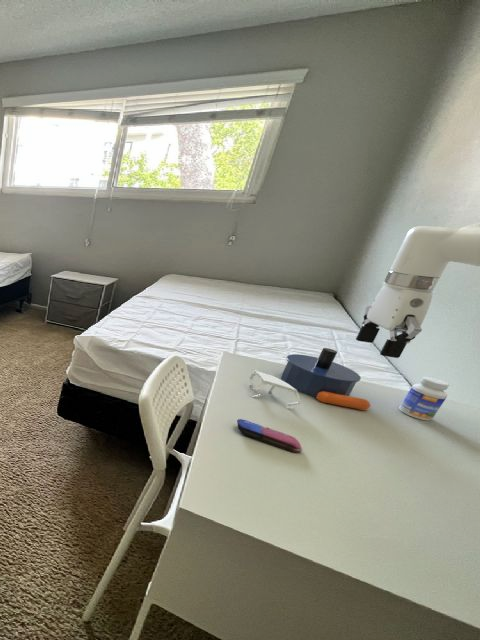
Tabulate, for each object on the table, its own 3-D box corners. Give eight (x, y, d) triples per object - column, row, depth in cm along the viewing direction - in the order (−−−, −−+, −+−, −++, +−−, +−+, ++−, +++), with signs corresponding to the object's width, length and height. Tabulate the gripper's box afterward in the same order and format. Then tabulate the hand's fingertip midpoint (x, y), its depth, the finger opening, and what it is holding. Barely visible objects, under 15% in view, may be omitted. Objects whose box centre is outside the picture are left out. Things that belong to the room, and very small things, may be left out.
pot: (330, 382, 100) (339, 363, 98) (358, 406, 88) (369, 386, 86) (273, 370, 105) (281, 352, 103) (292, 392, 93) (301, 373, 91)
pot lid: (340, 365, 99) (350, 345, 96) (372, 390, 86) (384, 368, 84) (277, 353, 103) (285, 334, 101) (298, 375, 91) (308, 354, 89)
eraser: (298, 445, 73) (302, 438, 72) (302, 456, 69) (306, 449, 69) (233, 422, 78) (236, 416, 77) (234, 431, 75) (238, 425, 74)
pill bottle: (411, 418, 85) (433, 384, 81) (391, 406, 90) (411, 373, 86) (438, 423, 84) (462, 388, 80) (417, 410, 89) (438, 377, 85)
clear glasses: (236, 390, 92) (242, 374, 90) (248, 383, 96) (255, 367, 95) (293, 415, 83) (301, 398, 81) (304, 405, 87) (312, 388, 85)
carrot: (362, 409, 88) (312, 399, 91) (365, 398, 88) (315, 389, 91) (372, 412, 85) (320, 402, 88) (374, 401, 85) (322, 391, 88)
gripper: (465, 292, 71) (422, 366, 77) (405, 276, 86) (374, 339, 92) (414, 287, 74) (377, 359, 80) (365, 272, 89) (337, 333, 95)
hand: (375, 348), depth 86 cm, fingers open, 9 cm apart
